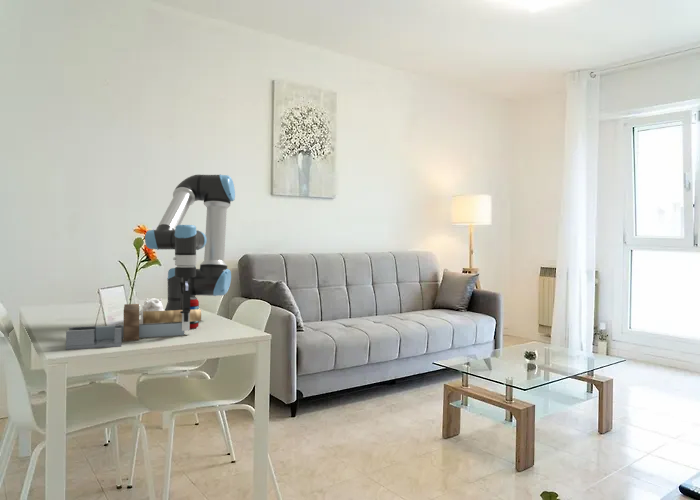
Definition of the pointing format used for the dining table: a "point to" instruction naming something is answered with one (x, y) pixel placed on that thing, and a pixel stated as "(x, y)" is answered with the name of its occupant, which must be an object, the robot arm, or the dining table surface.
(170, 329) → the rail
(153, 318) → the dowel
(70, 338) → the cradle
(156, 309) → the figurine
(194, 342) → the dining table surface
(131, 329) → the brown wooden block
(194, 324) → the beverage can
